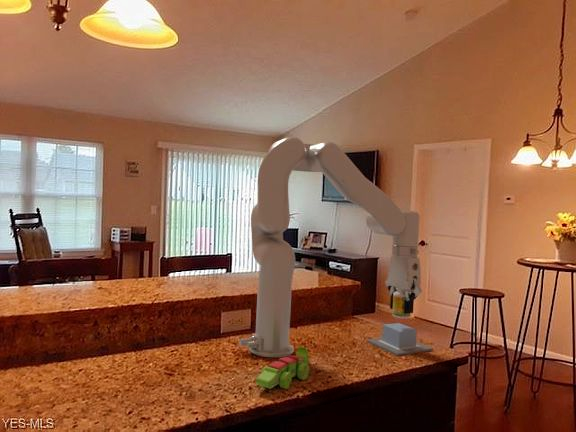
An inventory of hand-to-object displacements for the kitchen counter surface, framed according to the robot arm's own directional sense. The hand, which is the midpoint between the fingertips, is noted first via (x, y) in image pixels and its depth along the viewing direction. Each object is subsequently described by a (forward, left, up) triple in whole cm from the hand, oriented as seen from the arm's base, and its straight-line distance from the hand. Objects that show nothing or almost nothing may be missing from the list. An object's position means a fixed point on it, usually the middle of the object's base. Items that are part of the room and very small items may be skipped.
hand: (401, 310), depth 147 cm
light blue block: (0, 0, -10) cm, 10 cm away
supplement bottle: (0, 0, -2) cm, 2 cm away
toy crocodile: (-46, -11, -11) cm, 49 cm away
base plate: (0, 0, -11) cm, 11 cm away
